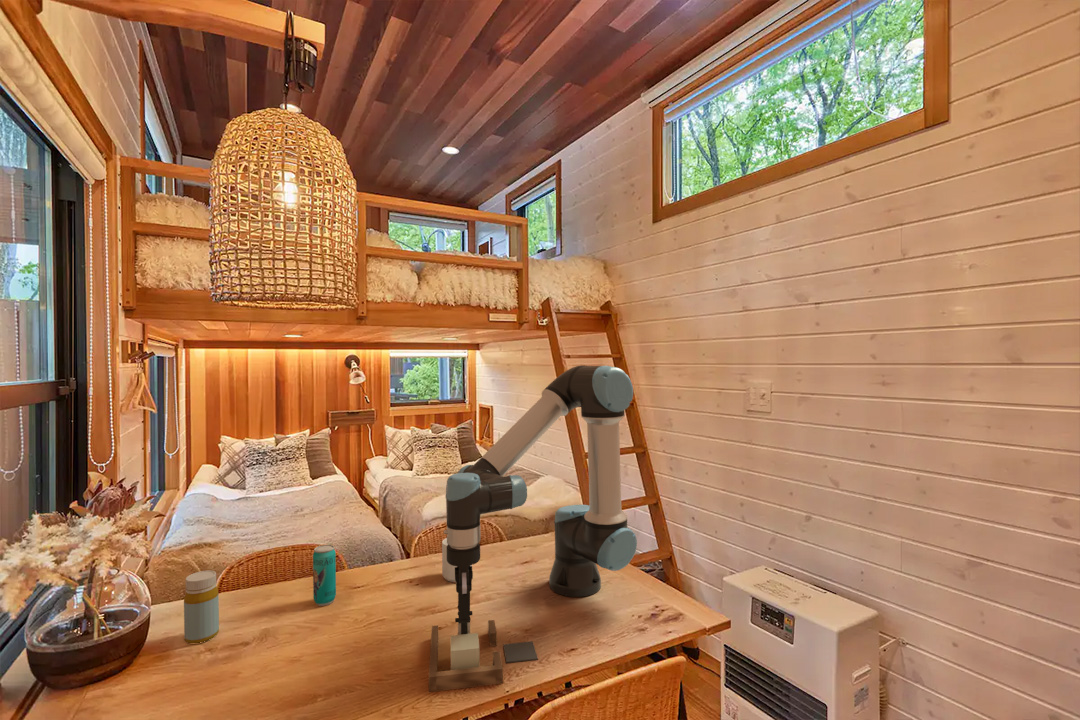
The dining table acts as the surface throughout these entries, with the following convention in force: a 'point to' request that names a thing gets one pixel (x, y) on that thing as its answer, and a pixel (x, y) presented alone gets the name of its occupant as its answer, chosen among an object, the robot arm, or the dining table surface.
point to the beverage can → (324, 575)
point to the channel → (464, 676)
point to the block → (464, 651)
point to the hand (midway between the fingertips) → (464, 647)
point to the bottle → (201, 607)
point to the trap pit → (520, 652)
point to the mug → (447, 564)
